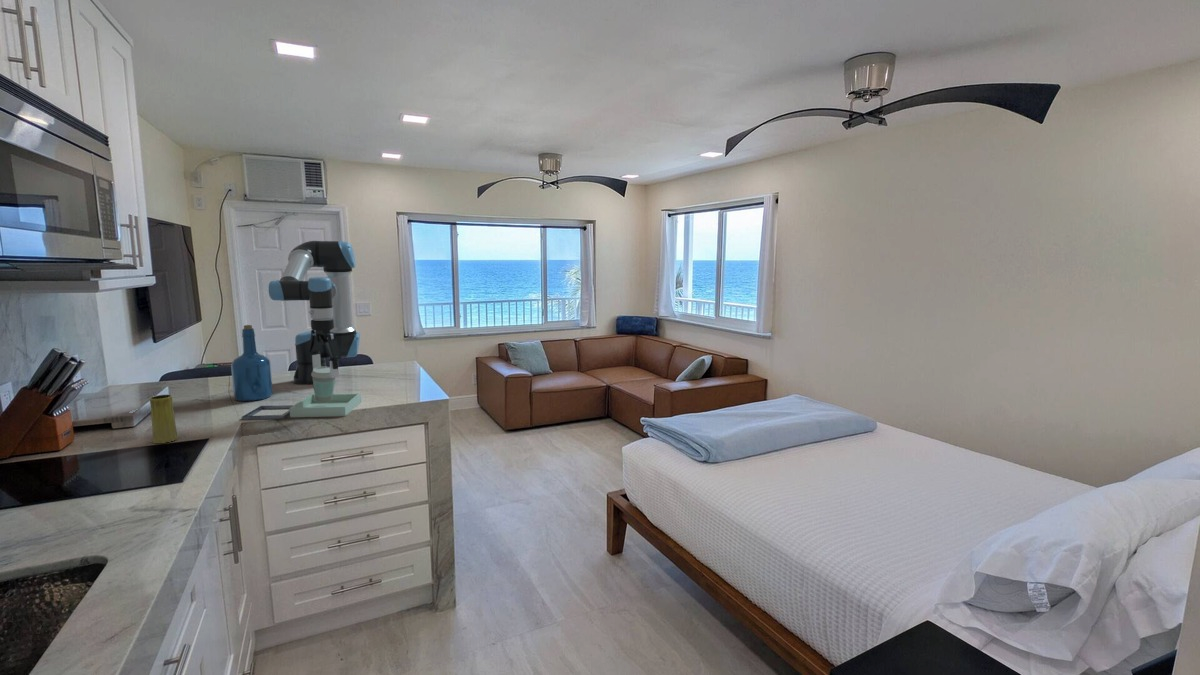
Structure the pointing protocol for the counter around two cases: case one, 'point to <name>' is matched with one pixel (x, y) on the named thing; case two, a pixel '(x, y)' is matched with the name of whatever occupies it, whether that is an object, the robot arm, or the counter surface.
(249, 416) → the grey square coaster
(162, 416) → the vase
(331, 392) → the coffee cup
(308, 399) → the bin
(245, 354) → the wine bottle
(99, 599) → the counter surface
